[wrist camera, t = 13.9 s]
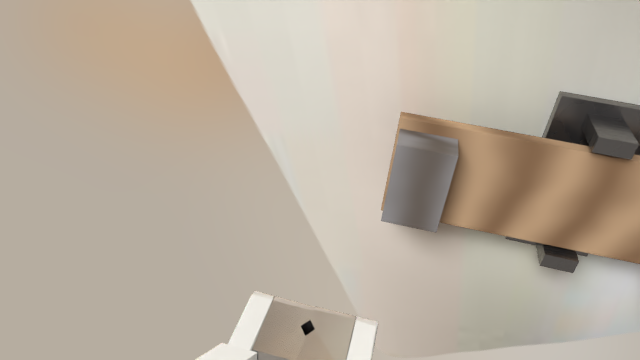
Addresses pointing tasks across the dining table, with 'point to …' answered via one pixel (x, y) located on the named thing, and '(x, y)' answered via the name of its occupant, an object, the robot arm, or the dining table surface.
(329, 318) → the robot arm
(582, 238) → the beam
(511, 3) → the dining table surface
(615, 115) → the fulcrum
